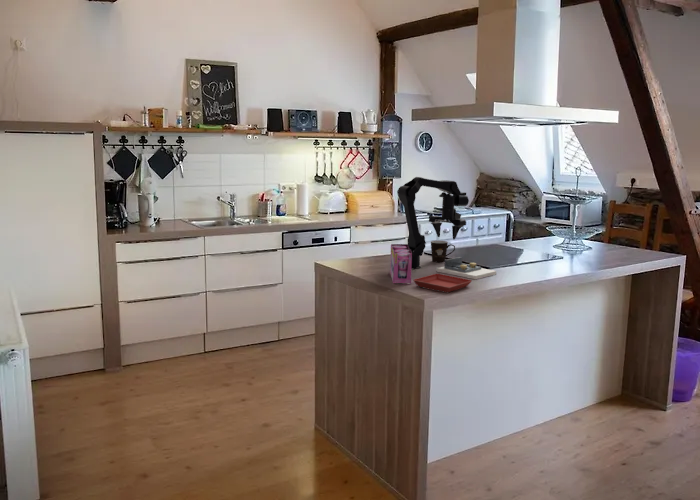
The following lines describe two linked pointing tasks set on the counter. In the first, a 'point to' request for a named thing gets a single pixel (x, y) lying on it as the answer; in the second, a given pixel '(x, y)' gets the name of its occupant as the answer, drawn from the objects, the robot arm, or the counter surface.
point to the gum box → (400, 263)
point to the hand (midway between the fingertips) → (446, 238)
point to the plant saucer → (442, 282)
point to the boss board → (471, 274)
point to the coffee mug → (439, 250)
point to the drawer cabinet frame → (458, 265)
